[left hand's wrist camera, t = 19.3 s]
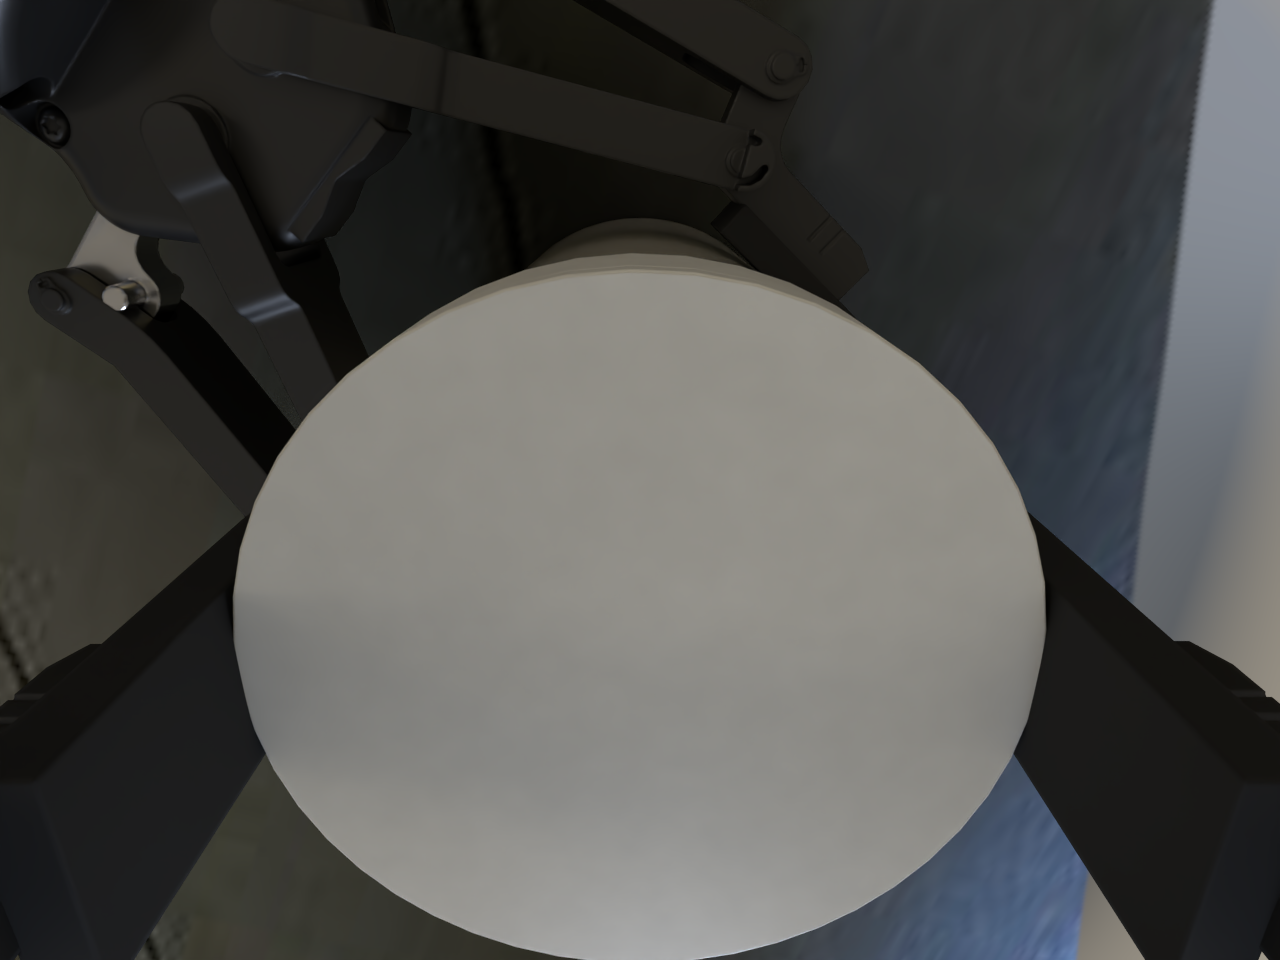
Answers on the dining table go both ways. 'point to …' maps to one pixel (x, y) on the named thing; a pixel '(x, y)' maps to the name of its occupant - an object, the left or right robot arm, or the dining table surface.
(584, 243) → the jar
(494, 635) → the lid
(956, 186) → the dining table surface
